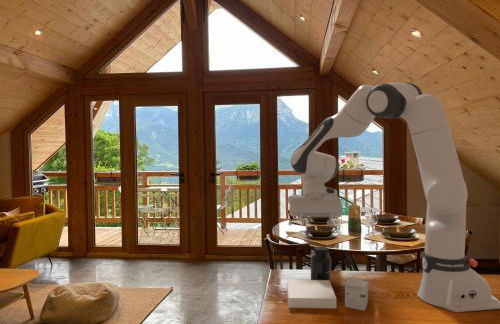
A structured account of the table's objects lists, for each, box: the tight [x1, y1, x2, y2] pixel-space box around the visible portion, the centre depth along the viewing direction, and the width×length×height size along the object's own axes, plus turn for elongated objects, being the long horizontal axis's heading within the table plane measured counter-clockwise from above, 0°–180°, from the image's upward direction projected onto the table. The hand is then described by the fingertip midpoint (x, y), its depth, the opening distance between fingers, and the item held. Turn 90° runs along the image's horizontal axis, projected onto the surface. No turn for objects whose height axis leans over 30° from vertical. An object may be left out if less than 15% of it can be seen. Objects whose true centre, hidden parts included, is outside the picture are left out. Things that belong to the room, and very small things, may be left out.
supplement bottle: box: [310, 245, 332, 283], centre depth 136 cm, size 7×7×12 cm
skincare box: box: [344, 276, 370, 311], centre depth 119 cm, size 6×6×7 cm
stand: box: [286, 279, 338, 309], centre depth 124 cm, size 14×14×3 cm
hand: (317, 225), depth 148 cm, fingers open, 8 cm apart
